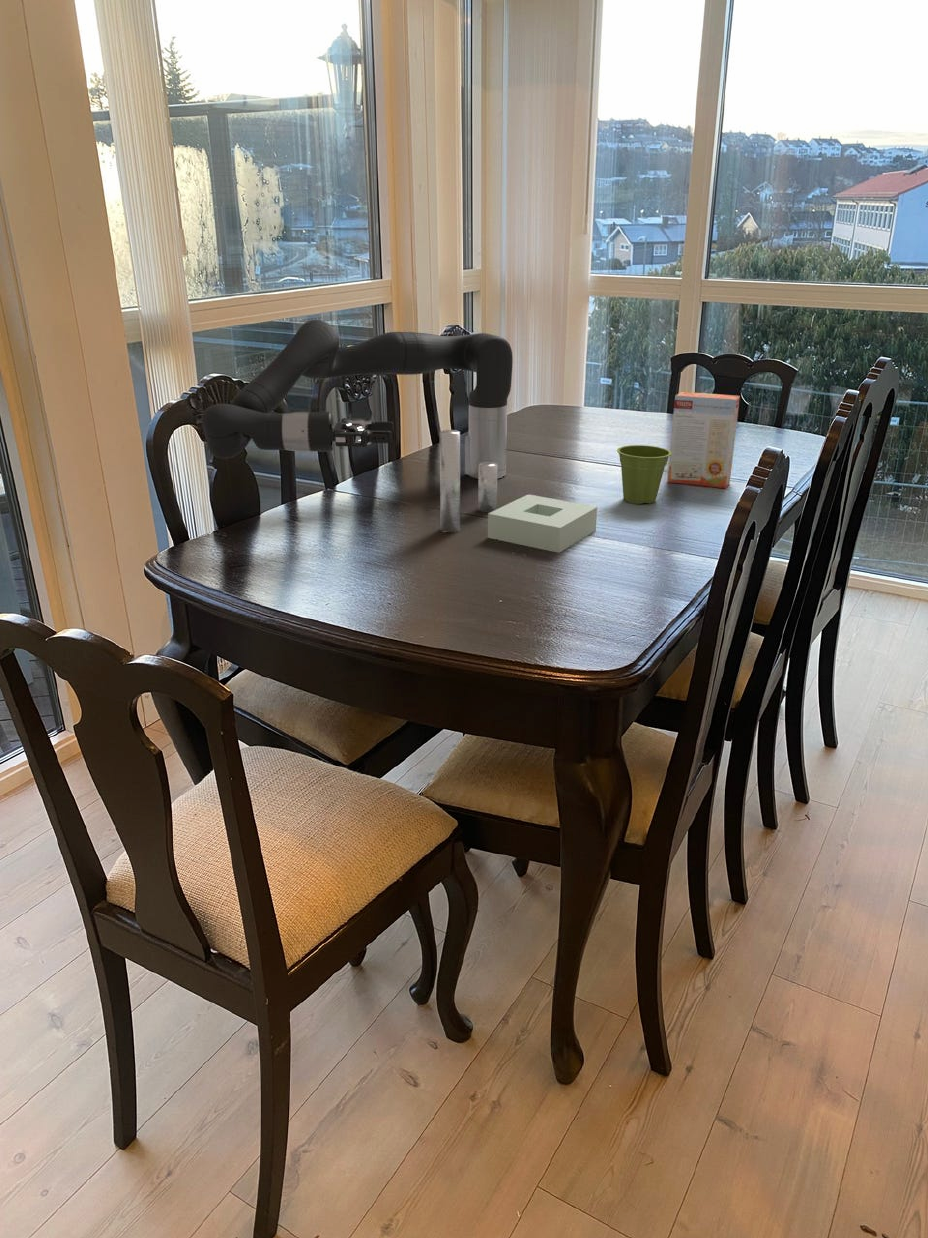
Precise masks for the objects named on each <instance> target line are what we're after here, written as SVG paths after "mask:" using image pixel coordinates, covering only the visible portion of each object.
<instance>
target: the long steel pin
mask: <svg viewBox="0 0 928 1238" xmlns="http://www.w3.org/2000/svg"><path fill="white" fill-rule="evenodd" d="M439 494H440V495H439V498H440V499H439V500H440V501H439V504H440V505H439V508H440V509H439V511H440V512H439V513H440V517H439V518H440V521H439V522H440V523H439V524H440V526H439V527H440V532H442V531H447V532H455V531H459V532H460V531H461V431H459V430H456V429H444V430H439ZM455 533H456V532H455Z"/></svg>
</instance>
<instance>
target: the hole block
mask: <svg viewBox="0 0 928 1238" xmlns="http://www.w3.org/2000/svg"><path fill="white" fill-rule="evenodd" d="M597 517H598V506H595V505H589V504H584V503H578V502H572V501H566V500H562V499H557V498H549V497H546V496H540V495H539V496H538V495H536V494H535V495H534V494H526V495H524V496H522V497H520V498H518V499H516V500H515V499H514V501H512V502H511V501H510V502H509V503H507V504H505V505H503V506H501V507H499V508H497V510H495V511H492V512H487V538H488V539H493V540H496V539H497V541H502V542H507V543H511V544H515V545H519V546H520V545H522V546H525V547H530V548H535V549H537V550H538V549H539V550H544V551H549V552H552V553H553V552H554V553H557V554H558V553H559V554H560V553H561V552H563V551H564V550H567V549H568V548H570V547H572V546H573V545H574V544H576V543H578V542H579V541H581V540H583V539H585V538H586V537H588V536H589V535H591V534H592V533H594V532H596V531H597Z"/></svg>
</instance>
